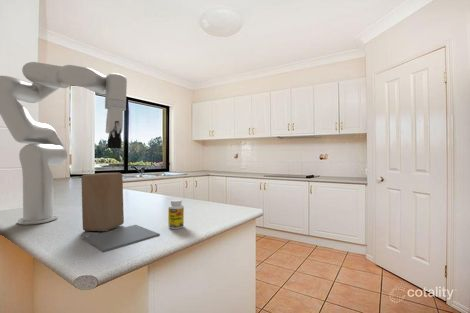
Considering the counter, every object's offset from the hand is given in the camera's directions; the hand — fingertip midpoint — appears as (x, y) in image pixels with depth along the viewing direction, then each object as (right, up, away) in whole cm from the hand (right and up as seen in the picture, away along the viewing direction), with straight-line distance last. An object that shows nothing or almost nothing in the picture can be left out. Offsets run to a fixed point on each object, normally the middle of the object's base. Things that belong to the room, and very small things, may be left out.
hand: (114, 148), depth 96 cm
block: (0, -30, -8) cm, 31 cm away
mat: (+11, -30, -17) cm, 36 cm away
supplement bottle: (+26, -30, -6) cm, 41 cm away
